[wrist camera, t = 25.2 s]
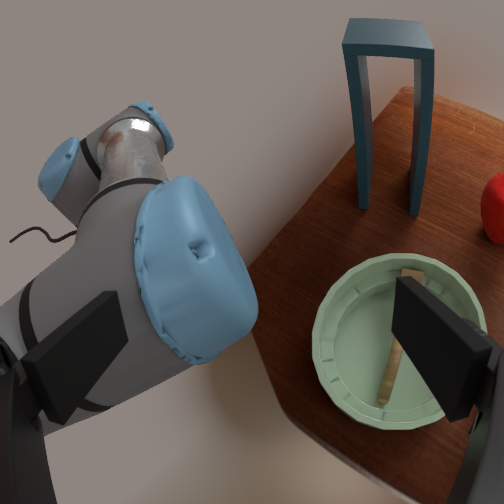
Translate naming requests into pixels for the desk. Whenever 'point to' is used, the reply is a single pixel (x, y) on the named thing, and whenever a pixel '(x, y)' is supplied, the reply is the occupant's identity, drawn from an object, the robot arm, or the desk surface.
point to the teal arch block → (355, 51)
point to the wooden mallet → (394, 353)
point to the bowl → (380, 340)
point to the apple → (494, 208)
